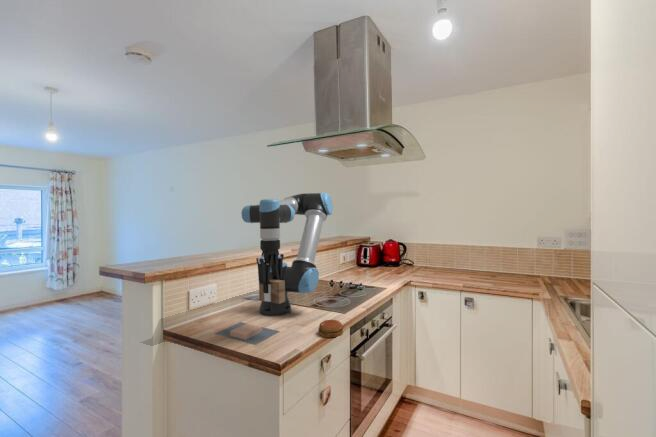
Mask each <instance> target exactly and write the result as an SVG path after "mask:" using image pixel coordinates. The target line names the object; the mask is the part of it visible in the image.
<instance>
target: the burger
mask: <svg viewBox="0 0 656 437" xmlns="http://www.w3.org/2000/svg"><path fill="white" fill-rule="evenodd" d="M343 328H344V326H343V324H342V322H341V321H339V320H338V319H325V320H323V321H322V322H320V323H319V326H318V332H319V336H320V337H322V338H336V337H341V336H342V335H344V330H343Z"/></svg>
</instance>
